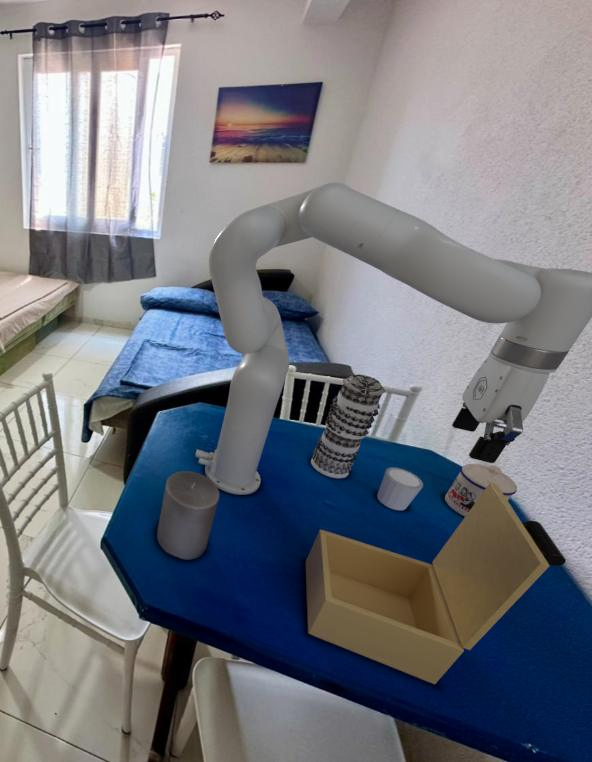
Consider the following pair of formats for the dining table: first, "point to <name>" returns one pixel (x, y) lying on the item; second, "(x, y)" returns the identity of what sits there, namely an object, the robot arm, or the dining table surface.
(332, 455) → the white patterned cylinder
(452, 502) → the teacup with lid
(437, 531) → the dining table surface
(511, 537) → the lid
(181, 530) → the pillar candle
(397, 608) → the hinged wooden box
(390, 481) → the white short cylinder
